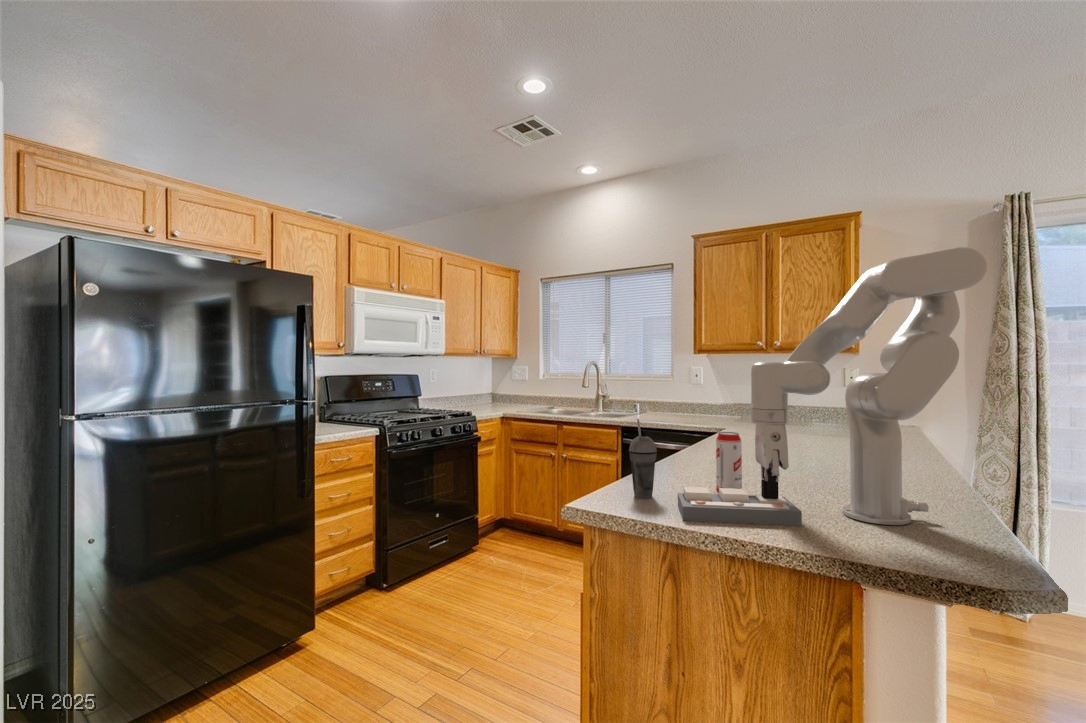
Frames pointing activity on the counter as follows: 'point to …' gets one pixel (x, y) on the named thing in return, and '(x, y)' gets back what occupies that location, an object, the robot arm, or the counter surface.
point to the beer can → (728, 461)
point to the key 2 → (770, 500)
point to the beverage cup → (642, 465)
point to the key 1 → (697, 494)
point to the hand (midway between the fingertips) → (769, 497)
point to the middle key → (733, 495)
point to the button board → (739, 511)
